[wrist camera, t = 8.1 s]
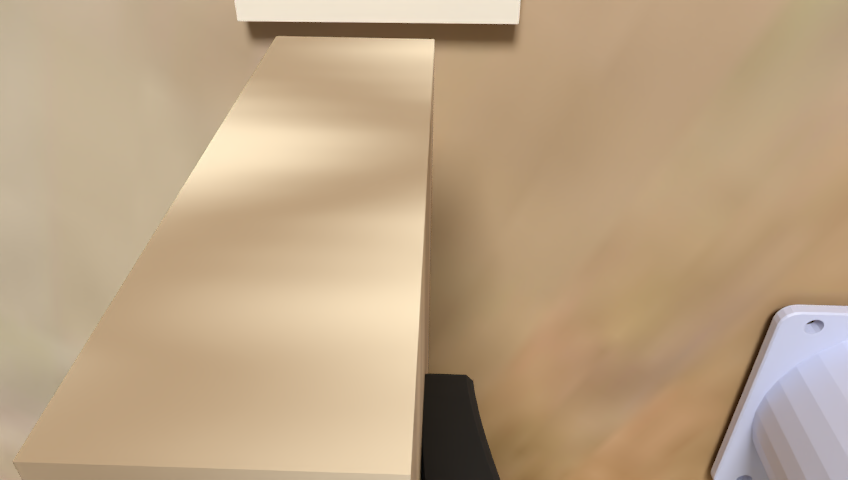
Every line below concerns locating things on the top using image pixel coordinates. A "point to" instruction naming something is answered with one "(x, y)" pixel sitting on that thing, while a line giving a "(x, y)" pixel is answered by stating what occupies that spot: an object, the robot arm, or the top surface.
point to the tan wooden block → (273, 291)
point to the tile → (381, 11)
